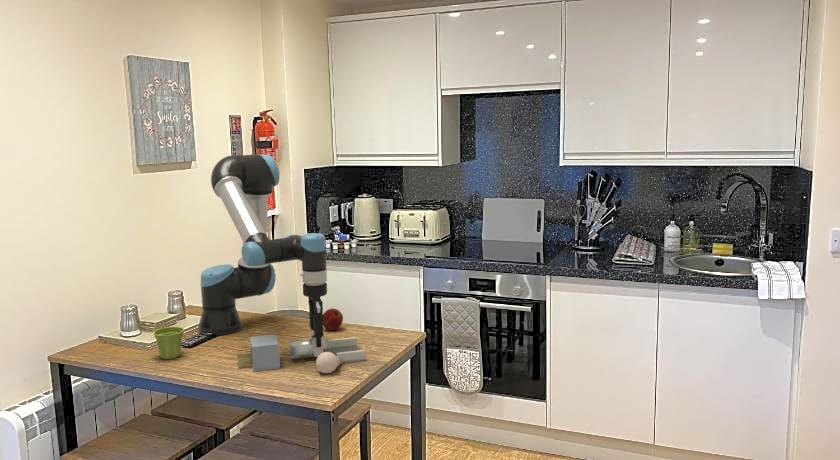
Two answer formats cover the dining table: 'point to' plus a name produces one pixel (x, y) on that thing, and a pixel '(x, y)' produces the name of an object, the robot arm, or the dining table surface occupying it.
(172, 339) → the plant pot
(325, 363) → the beige ball knob
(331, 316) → the apple
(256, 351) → the block
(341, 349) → the rest
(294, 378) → the dining table surface
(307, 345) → the silver metal cylinder
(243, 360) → the translucent yellow block
